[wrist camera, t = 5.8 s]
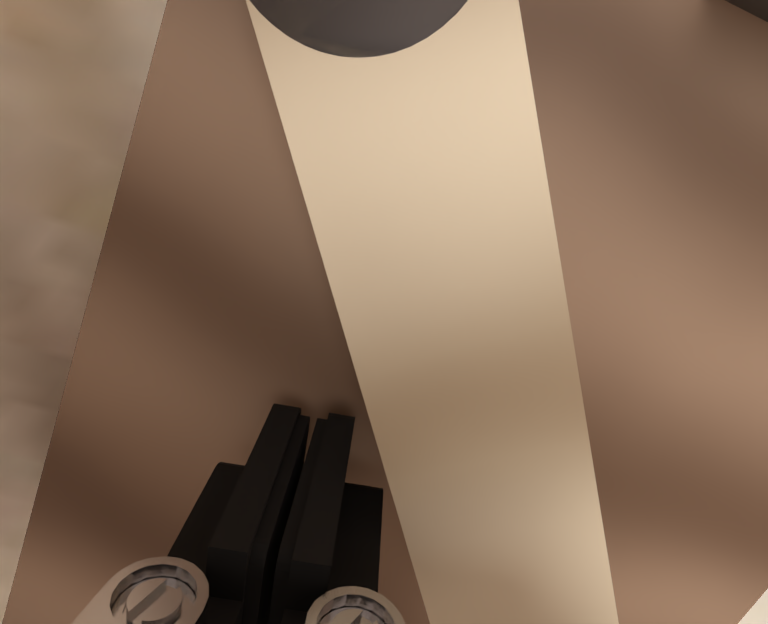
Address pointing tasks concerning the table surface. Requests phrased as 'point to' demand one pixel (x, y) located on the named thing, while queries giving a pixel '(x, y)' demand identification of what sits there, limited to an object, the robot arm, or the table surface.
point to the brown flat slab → (327, 339)
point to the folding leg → (448, 293)
